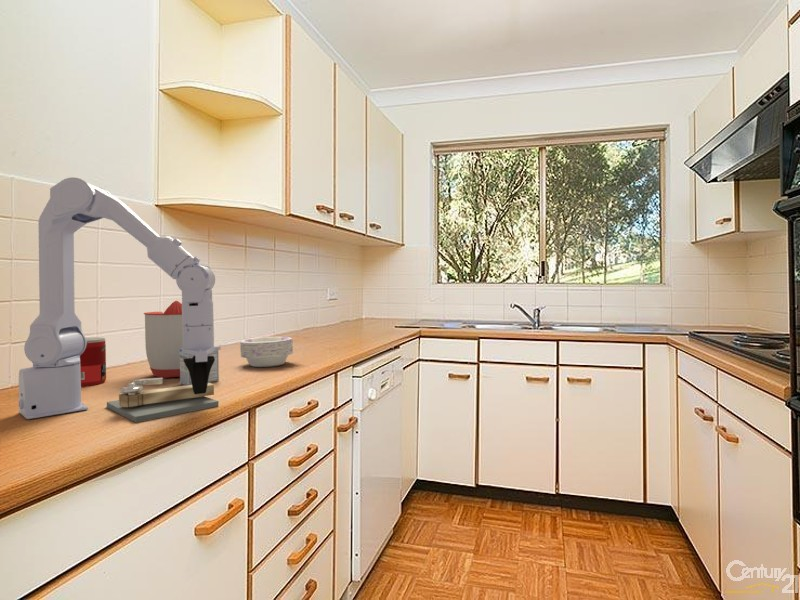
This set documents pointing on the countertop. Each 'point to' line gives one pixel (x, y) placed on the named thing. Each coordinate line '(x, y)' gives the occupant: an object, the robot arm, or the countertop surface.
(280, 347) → the grey stone bowl
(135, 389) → the pintle
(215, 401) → the base plate
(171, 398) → the link
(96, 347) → the canned food
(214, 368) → the medicine box
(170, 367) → the citrus juicer
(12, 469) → the countertop surface
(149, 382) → the keeper
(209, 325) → the robot arm
